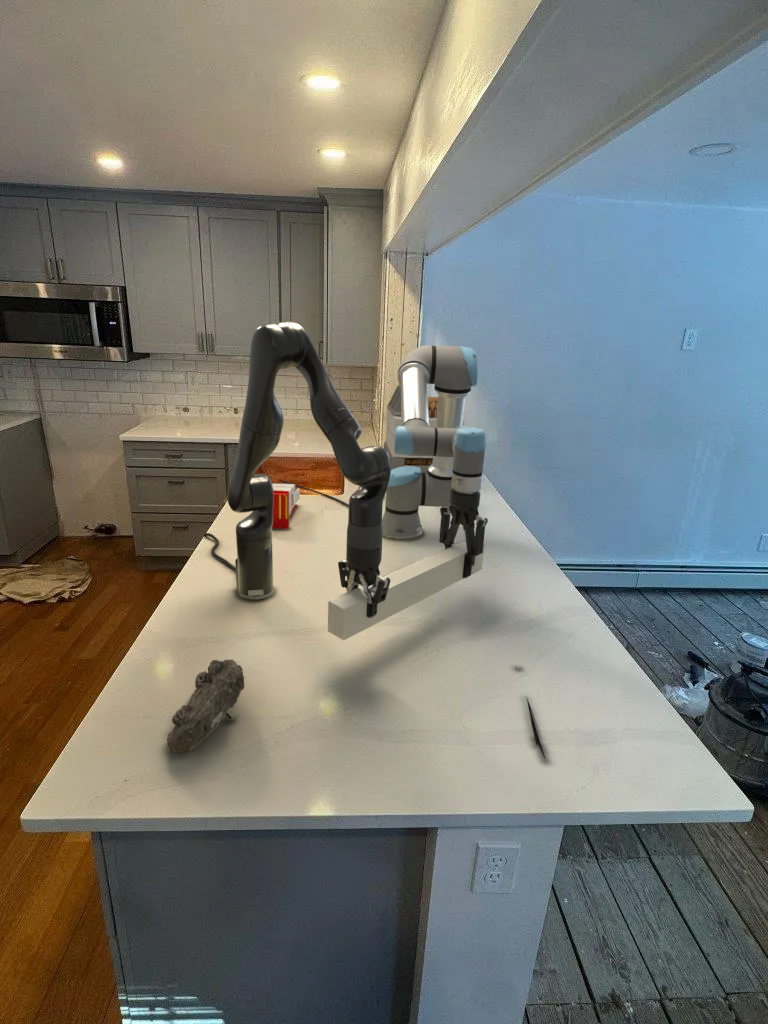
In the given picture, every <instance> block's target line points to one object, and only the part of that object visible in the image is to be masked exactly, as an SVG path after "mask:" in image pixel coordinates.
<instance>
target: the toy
mask: <svg viewBox="0 0 768 1024" xmlns="http://www.w3.org/2000/svg"><path fill="white" fill-rule="evenodd" d="M272 485H273V492H274V505H273V526H272V529H282V530H283V529H284V530H285V529H286V530H289V529H290V515H291V513H294V512H295V510H296V509H297V507H298V504H297V503H298V502H299V501H300V499H301V490H300V489H301V488H299V487H297V489H296V486H295V485H296V484H295V483H292V484H287V483H272Z"/></svg>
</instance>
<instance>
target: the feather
mask: <svg viewBox="0 0 768 1024" xmlns="http://www.w3.org/2000/svg"><path fill="white" fill-rule="evenodd" d="M517 669H519V666H518V667H517ZM526 701H527V708H528V711H529V718H530V723H531V728H532V732H533V736H534V741H535V745H536V746H537V745H538V747H539V749H540V751H541V754H542V756H543V758H544V759H546V757H545V756H546V755H545V753H544V749H543V746H542V743H541V740H540V739H541V738H542V735H541V730H540V727H539V726H538V723H537V720H536V718H535V714H534V711H533V710H532V707H531V704H530V702H529V699H528V697H527V696H526ZM539 736H540V737H539ZM546 752H548V750H546ZM548 753H549V752H548Z"/></svg>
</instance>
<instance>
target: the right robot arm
mask: <svg viewBox="0 0 768 1024" xmlns="http://www.w3.org/2000/svg"><path fill="white" fill-rule="evenodd" d="M477 357H478V356H477V353H476V351H475V350H474V349H473V348H472V347H467V346H461V345H460V346H459V345H457V346H456V345H431V344H426V345H421V346H418V347H416V348H414V349H413V350H411V351H410V352H409V353H407V354H406V355H405V356H404V358H403V359H402V360H401V362H400V364H399V366H398V370H397V382H398V385H400V386H401V426H398V427H396V428H395V437H394V451H395V453H396V454H401V455H408V456H433V463H432V464H431V465H430V466H429V465H428V466H427V472H424V471H423V472H422V469H421V468H420V467H419V466H407V465H404V467H398V468H395V469H392V470H391V475H390V479H389V483H388V486H387V490H386V494H385V504H384V505H385V507H384V508H385V509H384V513H383V514H382V529H383V537H385V538H387V539H389V540H395V541H410V540H415V539H418V538H420V537H421V536H422V535H423V525H422V524H421V518H420V515H419V507H435V508H439V512H440V525H439V536H438V542H439V543H440V544H443V547H444V550H445V549H447V548H450V547H452V546H454V545H456V544H455V540H456V538H457V533H458V530H459V528H460V526H462V529H463V531H464V536H465V541H466V545H467V553H468V554H466V555H465V558H464V568H463V578H464V579H467V578H469V577H471V576H472V574H471V570H472V566H474V564H475V556H477V555H479V554H481V553H483V545H484V544H485V534H486V526H487V524H488V522H489V519H488V518H487V517H484V518H483V517H482V516H481V515H480V513H479V506H480V502H481V490H482V483H483V470H484V462H485V453H486V447H487V433H486V431H485V430H484V429H481V428H479V427H474V426H473V427H471V426H465V425H464V426H462V423H463V419H464V412H465V403H466V397H467V396H468V395H469V394H470V393H471V392H472V387H476V386H477V385H478V378H479V371H478V370H479V368H478V367H479V366H478V359H477ZM428 384H429V385H434V389H433V390H434V391H435V392H436V393H437V395H438V396H437V397H438V408H437V419H436V428H432V427H429V416H428V401H427V397H428V387H427V386H428ZM278 481H279V482H281V483H283V484H293V483H292V482H289V481H286V480H284V479H281V478H279V479H278ZM295 488H300V489H303V490H305V491H309V492H313V493H316V494H318V495H321V496H325V497H327V498H330V499H332V500H335V501H337V502H338V503H341V504H342V505H345V506H347V507H348V508H349V503H347V502H345V501H343V500H341V499H339V498H336V497H334V496H331V495H329V494H327V493H324V492H322V491H321V492H320V491H318V490H314V489H312V488H308V487H306V486H302V485H298V484H295Z"/></svg>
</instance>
